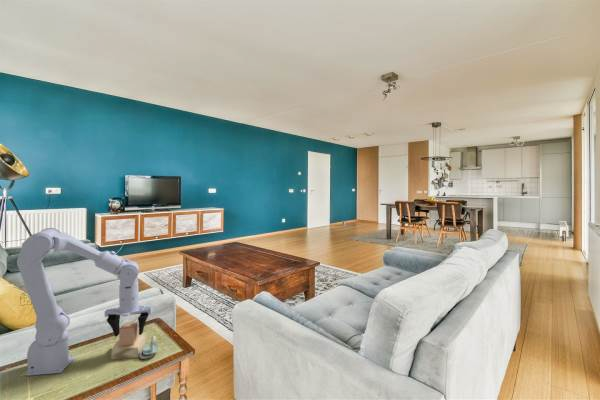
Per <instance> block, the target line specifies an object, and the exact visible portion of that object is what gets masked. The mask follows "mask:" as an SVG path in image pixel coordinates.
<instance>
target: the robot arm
mask: <svg viewBox="0 0 600 400" xmlns="http://www.w3.org/2000/svg"><path fill="white" fill-rule="evenodd" d="M51 250H53V253H57V252H65V251H68V252H71V253H74V255H75V254H76V255H79V256H81V257H84V258H86V259H89V260H91V261H92V262H94V264H95V267H97V268H99V269H101V270H103V271H104V272H108V273H109V274H111V275H115V276H117V278H118V280H119V285H118V286H119V287H118V288H119V289H118V290H119V292H118V293H119V295H118V296H119V298H118V299H119V300H118V301H119V305H118V307H113V308H106V309H105V310H104V318H107V319H106V323H108V325H109V326H110V327H111V329H112V331H113V335H114V338H116V337H118V336H119V329H120V328H121V326H120V321H121V320H120V318H121V317H128V316H131V315H139V316H138V317H137V322H138V335H143V333H144V328H145V325H146V322H147V319H148V317H149V315H151V314H152V313H153V306H148V305H147V306H146V305H139V301H140V300H139V298H140V297H139V296H140V295H139V269H140V266H139V264H138V263H137V262H136V261H135V259H134V260H132V259H129V258H124V257H121V256H119V255H118V254H116V252H115V251H113V250H111V251H109V250H104V251H100V250H98V249H96V248H95V247H93V246H91V245H88V244H86V243H85V242H83V241H81V240H79V239H78V238H75V237H74V236H72V235H70V234H68V232H65V231H61V230H59V229H57V228H54V227H47V228H46V227H45V228H44V229H42V230H40V231H38V232H36V233H33V234H30V236H28V237H27V238H26V239H25V240H24V241H23V242H22V243H21V250H20V253H19V255H18V257H17V260H16V265H17V268H18V270H19V272H20V277H21V278H22V280H23V283H24V285H25V289H26V291H27V294H28V296H29V299H30V302H31V305H32V307H33V310H34V313H35V315H36V318H35V324H34V325H35V326H34V327H35V330H36V331H35V332H36V333H35V340H34V341H33V342H31V344H30V345H29V346H28V350H27V354H26V356H27V357H26V359H27V360H26V362H27V365H26V366H27V372H26V374H25V376H28V377H29V376H38V375H51V374H60V373H62V372H63V371H64V370H66V368H67V367H68V366H69V365H70V364H71V362H72V361H73V360H74V359H75V358H76V356H75V355H70V352H69V350H70V346H69V332H68V330H67V328H68V326H69V325H70V321H71V319H70V316H69V315H68V314H66V313H65V312H64V310H63V308H62V307H60V306H59V305H58V303H57V301H56V297H55V295H54V292H53V290H52V289H53V288H52V286H51V284H50V281H49V278H48V275H47V273H46V270H45V268H44V264H43V260H44V259H45V257H46V256H47V255H48V254H49V252H50V251H51Z"/></svg>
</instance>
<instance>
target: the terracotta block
mask: <svg viewBox="0 0 600 400" xmlns="http://www.w3.org/2000/svg"><path fill="white" fill-rule="evenodd" d="M138 335H139V321H128V322H123V324H122V325H121V326H120V329H119V335H118V336H119V338H118V340H119V346H126V345H134V344H135V342H136V341H137V339H138V338H139V336H138Z"/></svg>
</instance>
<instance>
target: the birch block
mask: <svg viewBox="0 0 600 400" xmlns="http://www.w3.org/2000/svg"><path fill="white" fill-rule="evenodd" d="M138 336H139V338H138V339H137V341H136V342H135V344H134V345H126V346H119V339H118V340H117V341H116V343H115V344H114V346H113V347H112V348H111V360H120V359H133V358H138V357H139V353H140V352H141V351H142V350H143V349H144V348H145V346H146V334H142V335H139V334H138Z"/></svg>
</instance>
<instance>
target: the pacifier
mask: <svg viewBox="0 0 600 400" xmlns="http://www.w3.org/2000/svg"><path fill="white" fill-rule="evenodd" d="M159 346H160V345H159V343H158V342H157V337H156V336H155V335H152V336H151V340H150V342H148V343H147V344H145V345H144V347H143V349H142V351H141V352H140V353H139V356H138V357H139V358H140V359H141V360H147V359H149V358H150V357H153V356H155V354H157V353H159V350H158V349H159ZM144 355H145V356H144Z"/></svg>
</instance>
